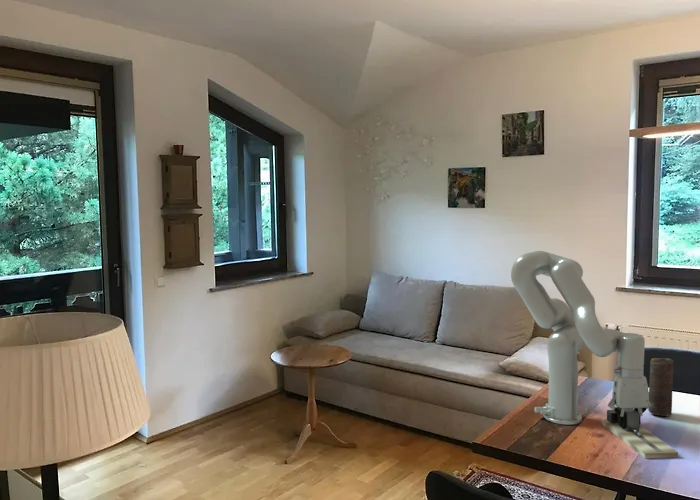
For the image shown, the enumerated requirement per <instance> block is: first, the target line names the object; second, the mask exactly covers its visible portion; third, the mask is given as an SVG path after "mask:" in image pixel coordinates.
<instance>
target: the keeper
mask: <svg viewBox="0 0 700 500" xmlns="http://www.w3.org/2000/svg"><path fill="white" fill-rule="evenodd" d="M615 407H617V404H615ZM606 419H607V421H609V422H610V423H618V414H617V413H616V412H615V411H614V410H613V409H606Z"/></svg>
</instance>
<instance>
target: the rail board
mask: <svg viewBox="0 0 700 500" xmlns="http://www.w3.org/2000/svg"><path fill="white" fill-rule="evenodd" d="M601 425H603V427H605V428H606V429H608V430H609V431H610V432H611V433H613V435H615V436H616V437H618V438H619V439H620V440H621V441H622V442H624V443H625V444H626V445H628V446H629V447H630V448H631V449H632V450H634V451H635V452H636V453H638V454H639V456H641V457H643V458H644V459H660V458H661V459H662V458H664V459H665V458H666V459H667V458H678V457H679V452H678V451H677V450H676V449H674V448H673V447H671V446H670V445H668V444H667V443H666V442H665V441H663V440H662V439H660V438H659V437H657V436H656V435H654V434H653V433H652V432H650V431H648V430H647V429H646V428H645V427H643V426H642V425H640V428H639V431H638V432H640V433H641V434H642V436H641V437H640V436H639V435H637V434H636V433H634V432H633V431H626V430H625V429H623V428H621V427H620V426H619V425H618V423H610V422H609V421H607V418H606V419H601Z"/></svg>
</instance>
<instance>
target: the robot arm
mask: <svg viewBox="0 0 700 500" xmlns="http://www.w3.org/2000/svg"><path fill="white" fill-rule="evenodd" d="M539 275H542V276H545V277H549V278H551V281H552V283H553V284H554V287H556V289H557V291H558V292H559V293H560V295H561V296H562V298H563V300H564V301H563V300H562V299H559V298H557V297H554V298H553V297H550V295H549V294H548V292H547V290H546V289H545V287H544V285H542V283H540V281H538V279H537V276H539ZM583 275H584V271H583V267H582V265H581V264H580V263H579V262H578V261H576V260H574V259H573V258H568V257H564V256H560V255H557V254H554V253H551V252H548V251H543V250H535V251H532V252H525V253H523V254H522V255H520V256H519V257H518V258H516V260H515V261H514V262H513V264H512V267H511V271H510V278H511V281H512V285H513V286H514V288H515V290H516V292H517V294H518V295H519V297H520V298H521V300H522V301H523V304H524V305H525V306H526V308H527V309H528V311H529V313H530V314H531V316H532V317H533V319H534V321H535V323H536V324H537V325H538V326H539V327H541V328H542V329H547V330H548V329H552V330H553V331H552V333H551V334H550V336H548V339H547V343H546V345H547V346H546V347H547V356H548V401H547V402H546V403H545V405H542V406H534V413H535V414H536V413H540V414H541V415H543V418H544V419H545V420H546V421H548V422H551V423H554V424H557V425H558V424H559V425H567V426H569V425H570V426H571V425H578V424H580V423H582V420H583V416H582V415H581V414H580V412H578V403H579V402H578V400H579V399H578V397H579V396H578V395H579V390H578V389H579V388H578V387H579V365H578V356H577V355H578V351H580V350H582V348H583V347H584V346H586V347H587V349H588V350H589V351H590V352H591V353H592V354H593V355H595V356H596V357H599V358H607V357H609V356H611V355H612V354H613V353H615V352H617V355H618V357H617V366H616V367H617V368H614V369H613V372H614V374H615V377H614V381H613V387H612V397H611V399H610V401H609V402H608V404H607V407H608V408H610V410H614V411H615V412H616V413H617V414H618V425H619V426H620V427H621V428H623V429H625V424H626V417H625V416H624V413H625V409H631V408H633V409H635V410H636V411H638V412H639V413H640V418H639V428H640V426H641V422H642V421H641V420H642V419H641V418H642V417H643V415H644V413H645V412H646V411H647V410H648V408H649V407H651V403H650V402H649V387H648V386H649V384H648V380H647V379H648V378H647V377H646V376H645V375H644V374H645V373H644V368H645V343H646V341H645V337H644V336H643V335H641V334H638V333H633V332H622V331H619V330H617V329H616V330H615V329H610V328H605V329H603V327H602V326H601V324H600V322H599V319H598V317H597V314H596V301H595V298H594V296H593V294H592V293H591V291H590V289H589V288H588V287H587V285H586V284H585V283H586V282H584V280H583V278H582V277H583ZM615 404H617V407H616V406H615Z"/></svg>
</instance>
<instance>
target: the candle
mask: <svg viewBox="0 0 700 500" xmlns="http://www.w3.org/2000/svg"><path fill="white" fill-rule="evenodd" d="M650 359H651V360H650V361H649V363H650V364H649V365H650V366H649V384H648V386H649V387H648V394H649V402H650V403H651V407H649V408H648V409H647V411H648V412H649V413H650V414H651V415H656V416H662V417H663V416H665V417H667V416H672V412H673V409H672V408H673V385H674V383H673V382H674V380H673V379H674V359H672V358H665V357H660V358H657V357H654V358H653V357H652V358H650Z"/></svg>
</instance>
